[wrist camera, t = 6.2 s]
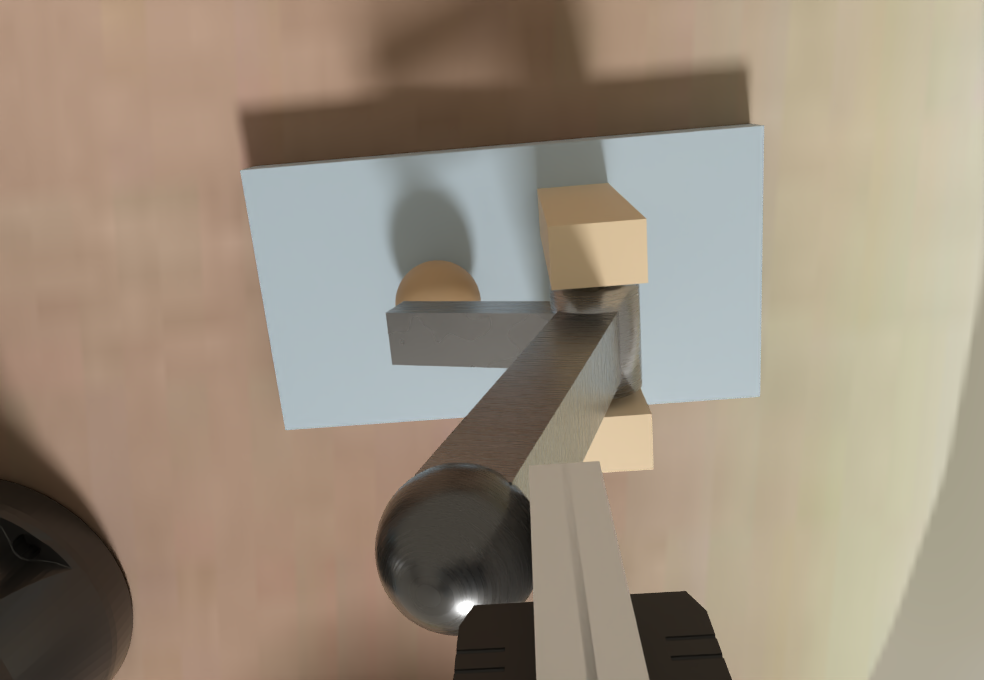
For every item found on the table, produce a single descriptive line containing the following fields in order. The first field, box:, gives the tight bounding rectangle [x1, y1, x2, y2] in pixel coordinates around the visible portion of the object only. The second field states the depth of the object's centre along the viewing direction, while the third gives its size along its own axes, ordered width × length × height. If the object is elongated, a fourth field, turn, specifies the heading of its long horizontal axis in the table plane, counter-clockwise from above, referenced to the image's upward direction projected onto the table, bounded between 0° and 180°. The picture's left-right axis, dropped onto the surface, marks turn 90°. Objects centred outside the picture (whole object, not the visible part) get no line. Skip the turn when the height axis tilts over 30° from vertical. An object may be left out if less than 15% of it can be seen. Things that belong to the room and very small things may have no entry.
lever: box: [375, 284, 642, 636], centre depth 22 cm, size 9×4×17 cm, turn 96°
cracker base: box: [240, 124, 764, 473], centre depth 31 cm, size 22×12×12 cm, turn 95°
